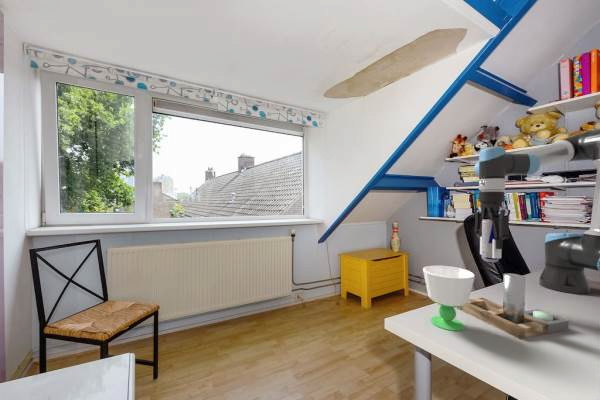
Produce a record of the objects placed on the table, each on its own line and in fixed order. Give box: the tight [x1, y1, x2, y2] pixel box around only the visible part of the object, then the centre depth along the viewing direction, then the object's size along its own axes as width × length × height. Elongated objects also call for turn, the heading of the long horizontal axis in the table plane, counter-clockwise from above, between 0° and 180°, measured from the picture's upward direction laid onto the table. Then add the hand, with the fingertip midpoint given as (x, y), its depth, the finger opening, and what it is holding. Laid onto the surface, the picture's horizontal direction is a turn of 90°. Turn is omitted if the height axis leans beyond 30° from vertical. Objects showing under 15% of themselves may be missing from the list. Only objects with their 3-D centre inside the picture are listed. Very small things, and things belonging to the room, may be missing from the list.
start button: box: [533, 310, 553, 322], centre depth 79 cm, size 4×4×2 cm
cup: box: [422, 265, 476, 332], centre depth 80 cm, size 14×14×16 cm
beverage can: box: [481, 219, 500, 263], centre depth 95 cm, size 5×5×15 cm
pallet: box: [456, 297, 550, 340], centre depth 82 cm, size 11×20×2 cm, turn 15°
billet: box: [502, 272, 526, 324], centre depth 78 cm, size 5×5×15 cm
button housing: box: [525, 309, 570, 334], centre depth 79 cm, size 8×8×2 cm
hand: (490, 256), depth 95 cm, fingers closed on beverage can, 5 cm apart
